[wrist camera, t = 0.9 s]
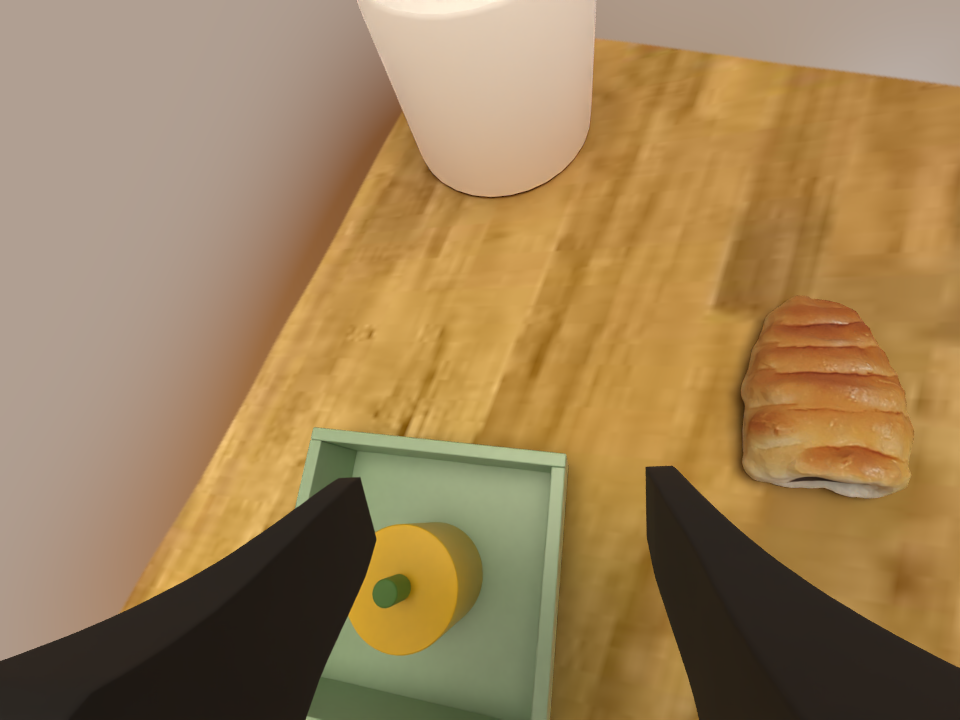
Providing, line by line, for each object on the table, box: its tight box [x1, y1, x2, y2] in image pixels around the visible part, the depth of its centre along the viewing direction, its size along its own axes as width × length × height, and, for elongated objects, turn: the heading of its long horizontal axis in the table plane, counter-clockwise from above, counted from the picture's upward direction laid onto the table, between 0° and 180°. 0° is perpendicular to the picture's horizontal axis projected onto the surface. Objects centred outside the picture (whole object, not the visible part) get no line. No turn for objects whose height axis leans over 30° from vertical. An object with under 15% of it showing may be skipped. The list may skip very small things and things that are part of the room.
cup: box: [356, 0, 596, 197], centre depth 27 cm, size 12×12×12 cm
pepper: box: [348, 522, 483, 656], centre depth 21 cm, size 5×5×7 cm
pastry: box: [741, 296, 914, 499], centre depth 22 cm, size 9×7×4 cm
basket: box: [295, 427, 568, 720], centre depth 22 cm, size 12×12×5 cm
